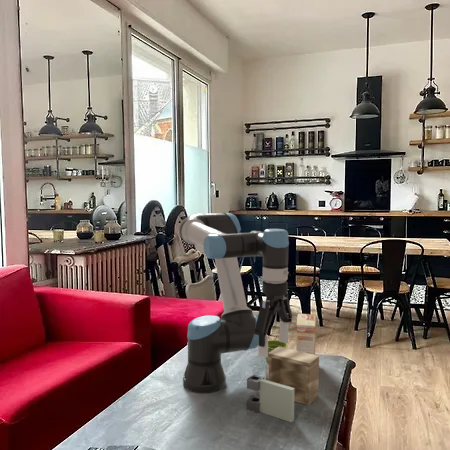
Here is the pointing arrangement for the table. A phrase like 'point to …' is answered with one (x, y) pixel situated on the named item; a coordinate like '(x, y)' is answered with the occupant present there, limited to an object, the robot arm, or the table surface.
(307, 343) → the coffeecake box
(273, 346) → the plant pot
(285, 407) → the square frame paddle
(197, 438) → the table surface
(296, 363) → the cabinet
